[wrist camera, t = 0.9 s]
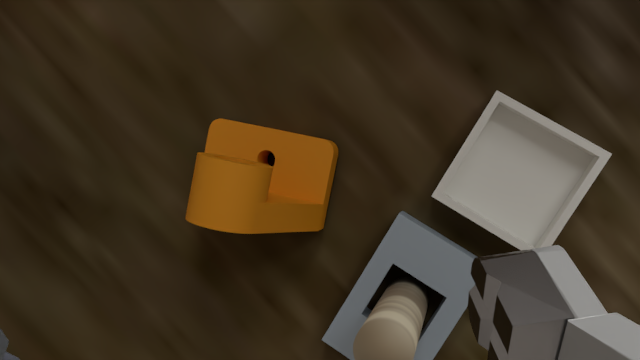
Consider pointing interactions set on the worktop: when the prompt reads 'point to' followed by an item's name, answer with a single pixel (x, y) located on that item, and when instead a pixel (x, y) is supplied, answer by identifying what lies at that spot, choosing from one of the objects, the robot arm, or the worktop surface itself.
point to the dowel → (393, 323)
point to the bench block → (422, 263)
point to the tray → (520, 174)
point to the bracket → (261, 180)
